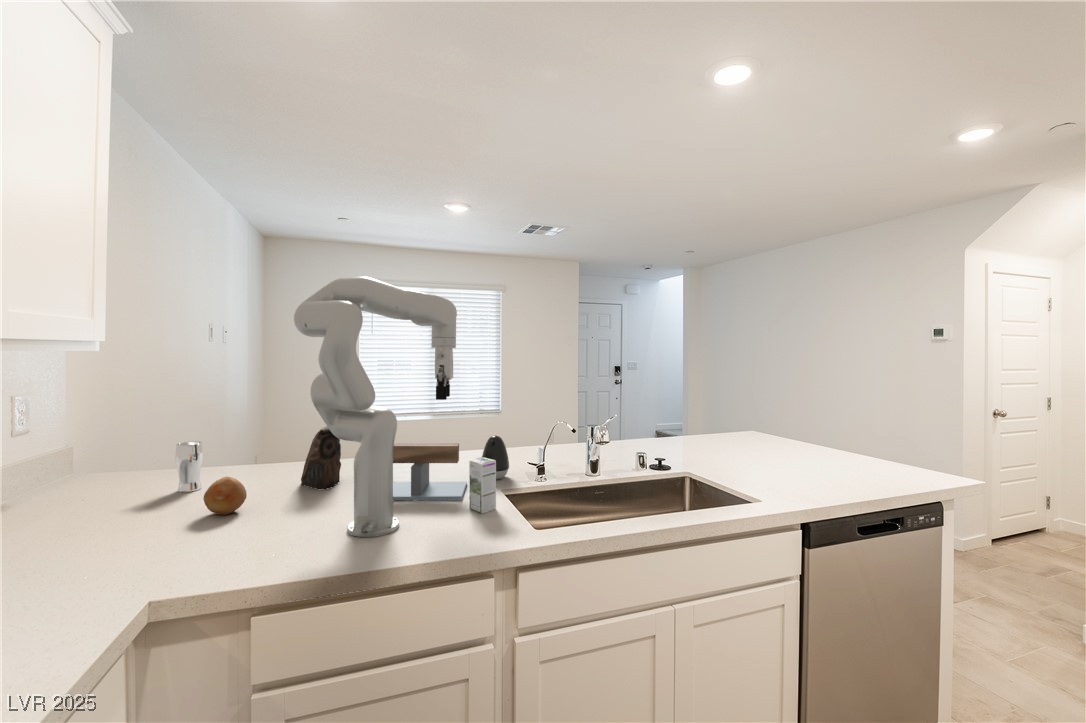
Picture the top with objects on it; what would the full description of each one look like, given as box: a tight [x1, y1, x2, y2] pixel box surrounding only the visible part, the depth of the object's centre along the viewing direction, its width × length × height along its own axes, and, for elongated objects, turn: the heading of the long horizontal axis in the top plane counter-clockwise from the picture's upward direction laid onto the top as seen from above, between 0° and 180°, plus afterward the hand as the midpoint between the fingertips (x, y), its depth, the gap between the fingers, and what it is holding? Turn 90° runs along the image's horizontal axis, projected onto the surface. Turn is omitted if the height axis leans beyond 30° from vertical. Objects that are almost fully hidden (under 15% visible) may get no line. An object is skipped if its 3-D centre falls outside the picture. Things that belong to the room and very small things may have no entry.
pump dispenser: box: [481, 435, 510, 480], centre depth 172 cm, size 10×10×15 cm
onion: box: [203, 476, 247, 516], centre depth 134 cm, size 10×10×10 cm
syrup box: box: [468, 456, 497, 514], centre depth 139 cm, size 6×6×14 cm
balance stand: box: [393, 463, 468, 501], centre depth 154 cm, size 16×28×10 cm, turn 93°
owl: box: [300, 425, 342, 490], centre depth 161 cm, size 13×13×20 cm
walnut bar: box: [393, 442, 460, 464], centre depth 154 cm, size 4×24×6 cm, turn 93°
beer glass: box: [175, 440, 204, 493], centre depth 154 cm, size 7×7×15 cm
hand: (443, 397), depth 151 cm, fingers open, 9 cm apart
